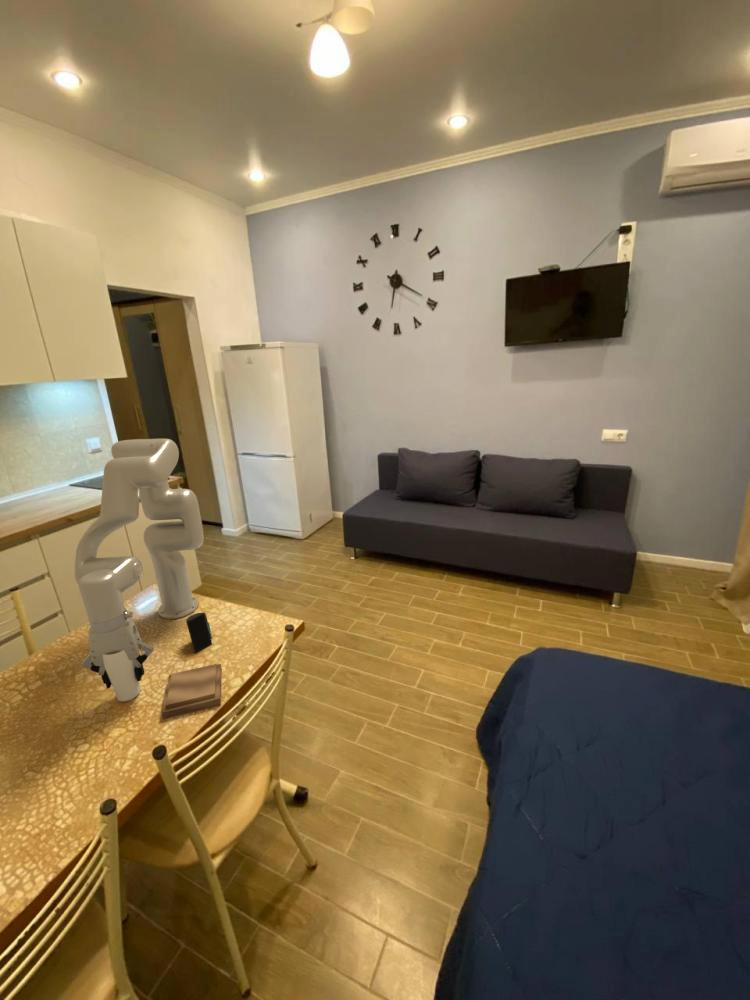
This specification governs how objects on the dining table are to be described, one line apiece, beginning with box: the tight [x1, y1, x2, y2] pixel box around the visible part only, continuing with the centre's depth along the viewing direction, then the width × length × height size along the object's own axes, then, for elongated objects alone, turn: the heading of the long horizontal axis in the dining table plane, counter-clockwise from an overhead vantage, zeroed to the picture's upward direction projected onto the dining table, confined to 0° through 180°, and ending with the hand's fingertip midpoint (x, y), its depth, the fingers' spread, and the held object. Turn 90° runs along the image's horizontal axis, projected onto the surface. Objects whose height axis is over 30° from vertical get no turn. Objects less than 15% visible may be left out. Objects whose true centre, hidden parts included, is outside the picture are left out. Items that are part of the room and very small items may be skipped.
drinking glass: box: [103, 650, 141, 703], centre depth 105 cm, size 7×7×15 cm
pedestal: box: [161, 663, 223, 720], centre depth 107 cm, size 13×13×3 cm
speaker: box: [185, 612, 213, 654], centre depth 125 cm, size 8×6×10 cm
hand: (125, 680), depth 106 cm, fingers closed on drinking glass, 6 cm apart
